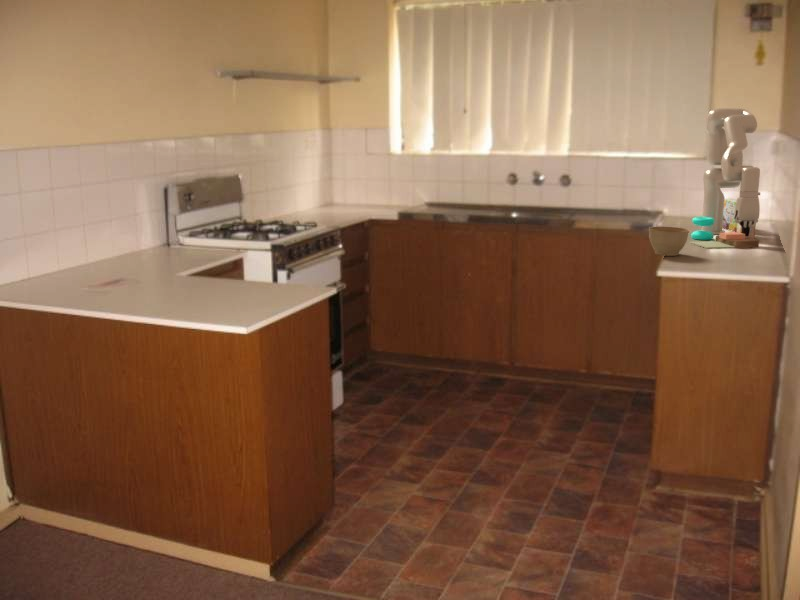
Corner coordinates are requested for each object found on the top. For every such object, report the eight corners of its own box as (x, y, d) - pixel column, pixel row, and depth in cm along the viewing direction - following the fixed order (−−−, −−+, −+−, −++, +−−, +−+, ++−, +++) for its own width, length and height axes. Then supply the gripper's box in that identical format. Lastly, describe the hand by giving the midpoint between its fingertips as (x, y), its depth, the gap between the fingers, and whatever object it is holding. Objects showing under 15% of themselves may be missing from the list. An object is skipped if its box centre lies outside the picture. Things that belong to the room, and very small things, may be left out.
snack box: (720, 227, 433) (722, 198, 429) (730, 227, 433) (733, 198, 430) (739, 233, 412) (742, 203, 409) (750, 233, 412) (753, 203, 409)
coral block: (719, 237, 380) (719, 232, 380) (737, 237, 381) (738, 232, 381) (726, 239, 374) (726, 234, 374) (744, 239, 375) (745, 234, 375)
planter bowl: (676, 259, 343) (678, 232, 340) (640, 254, 354) (641, 229, 351) (693, 254, 354) (695, 228, 352) (657, 250, 365) (659, 225, 363)
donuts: (719, 218, 391) (701, 219, 388) (717, 240, 393) (699, 241, 390) (705, 216, 400) (687, 216, 397) (704, 236, 402) (686, 237, 399)
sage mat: (689, 243, 384) (689, 241, 383) (715, 242, 385) (716, 241, 385) (707, 248, 368) (707, 247, 368) (734, 247, 370) (734, 246, 370)
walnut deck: (715, 242, 386) (715, 235, 385) (737, 241, 388) (738, 235, 387) (735, 248, 370) (735, 241, 369) (758, 247, 371) (758, 240, 371)
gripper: (759, 194, 379) (755, 234, 383) (728, 194, 377) (725, 235, 381) (769, 195, 372) (765, 236, 376) (737, 196, 369) (734, 237, 373)
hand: (745, 235), depth 378 cm, fingers closed
